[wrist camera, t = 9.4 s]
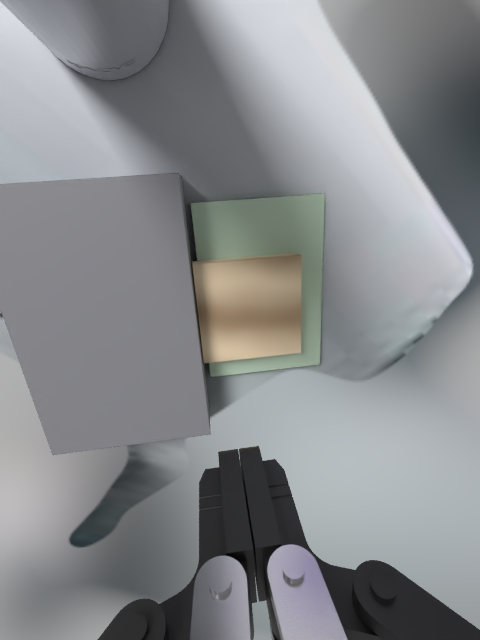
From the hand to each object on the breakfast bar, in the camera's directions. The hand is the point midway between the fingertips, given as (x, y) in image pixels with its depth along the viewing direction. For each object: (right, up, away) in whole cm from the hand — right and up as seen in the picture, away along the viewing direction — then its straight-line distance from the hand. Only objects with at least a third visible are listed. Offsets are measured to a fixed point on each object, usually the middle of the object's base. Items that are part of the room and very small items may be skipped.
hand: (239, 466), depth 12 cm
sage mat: (+2, +8, +18) cm, 19 cm away
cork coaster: (+1, +7, +17) cm, 19 cm away
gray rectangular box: (-11, +6, +17) cm, 21 cm away
